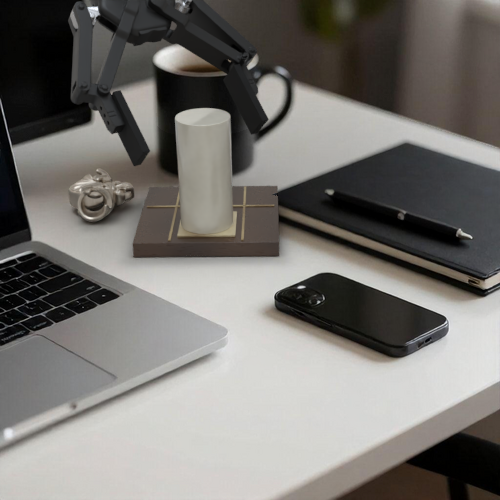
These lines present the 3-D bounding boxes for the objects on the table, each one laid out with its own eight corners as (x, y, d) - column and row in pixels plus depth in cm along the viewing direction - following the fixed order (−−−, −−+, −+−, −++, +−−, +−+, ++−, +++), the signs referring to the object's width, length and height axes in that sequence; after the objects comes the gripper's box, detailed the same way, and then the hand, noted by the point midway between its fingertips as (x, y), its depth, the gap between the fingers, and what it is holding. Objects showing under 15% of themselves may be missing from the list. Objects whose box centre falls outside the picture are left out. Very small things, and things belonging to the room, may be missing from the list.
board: (277, 198, 101) (277, 183, 100) (279, 256, 88) (279, 240, 88) (149, 199, 101) (148, 185, 101) (133, 257, 89) (132, 241, 88)
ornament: (136, 221, 96) (134, 189, 94) (69, 226, 95) (65, 194, 94) (133, 192, 103) (131, 161, 102) (71, 196, 102) (68, 165, 101)
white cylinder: (234, 211, 94) (231, 107, 89) (232, 234, 89) (229, 125, 84) (183, 212, 94) (177, 108, 89) (178, 234, 89) (172, 125, 84)
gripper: (201, -31, 102) (287, 133, 98) (-15, 0, 88) (75, 192, 84) (227, -78, 96) (321, 96, 91) (0, -51, 82) (98, 153, 78)
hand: (203, 142), depth 88 cm, fingers open, 13 cm apart
